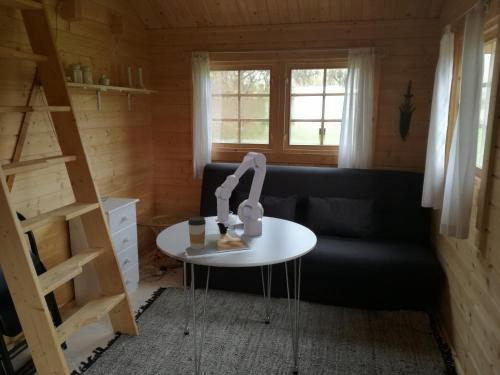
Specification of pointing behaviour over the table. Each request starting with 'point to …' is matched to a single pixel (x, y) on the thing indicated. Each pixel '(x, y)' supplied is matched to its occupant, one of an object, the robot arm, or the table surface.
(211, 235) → the slate board
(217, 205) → the robot arm
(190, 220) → the coffee cup
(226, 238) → the t block
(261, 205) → the puzzle ball
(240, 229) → the table surface
